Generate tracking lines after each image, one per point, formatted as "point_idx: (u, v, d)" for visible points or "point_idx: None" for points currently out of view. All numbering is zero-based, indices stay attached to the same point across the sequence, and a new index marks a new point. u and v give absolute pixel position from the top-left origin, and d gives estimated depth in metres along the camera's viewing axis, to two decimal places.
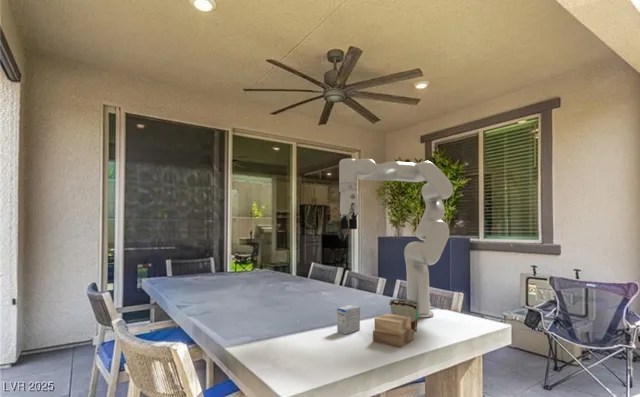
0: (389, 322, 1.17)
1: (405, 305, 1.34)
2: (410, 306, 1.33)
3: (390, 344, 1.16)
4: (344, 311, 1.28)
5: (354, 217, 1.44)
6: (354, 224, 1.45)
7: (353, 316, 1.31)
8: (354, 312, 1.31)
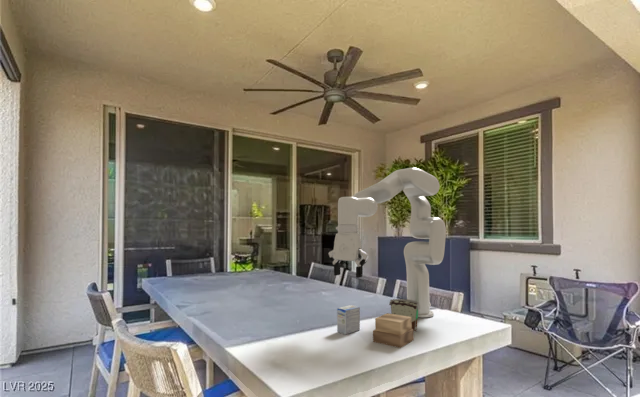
0: (390, 322, 1.17)
1: (405, 305, 1.34)
2: (410, 306, 1.33)
3: (390, 344, 1.16)
4: (344, 311, 1.28)
5: None
6: None
7: (353, 316, 1.31)
8: (354, 312, 1.31)
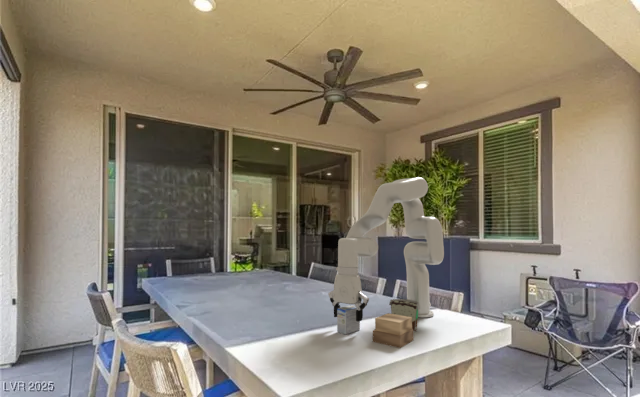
0: (389, 322, 1.17)
1: (405, 305, 1.34)
2: (410, 306, 1.33)
3: (390, 344, 1.16)
4: (344, 311, 1.28)
5: None
6: None
7: (353, 316, 1.31)
8: (354, 312, 1.31)
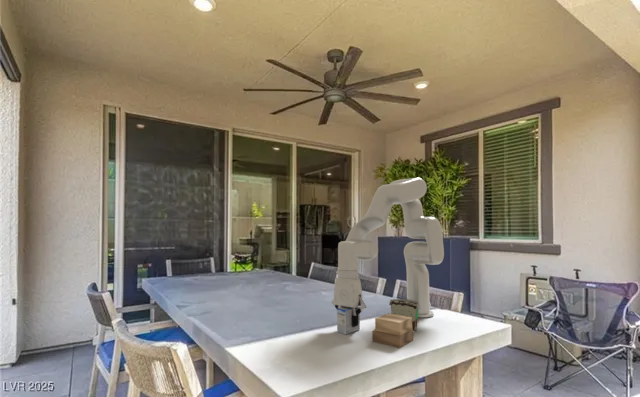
0: (389, 322, 1.17)
1: (405, 305, 1.34)
2: (410, 306, 1.33)
3: (389, 344, 1.16)
4: (344, 311, 1.28)
5: None
6: None
7: None
8: None
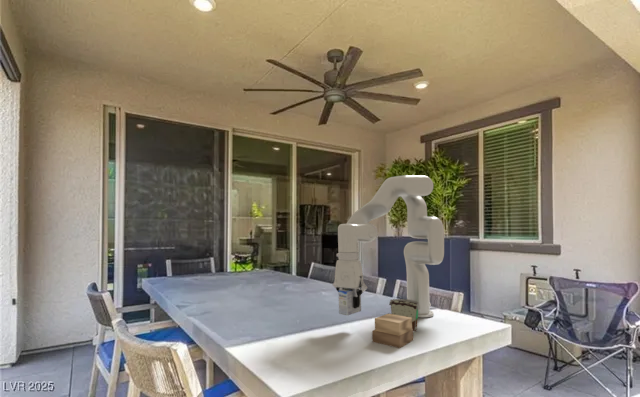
0: (389, 322, 1.17)
1: (405, 305, 1.34)
2: (410, 306, 1.33)
3: (389, 344, 1.16)
4: (345, 292, 1.29)
5: None
6: None
7: None
8: None
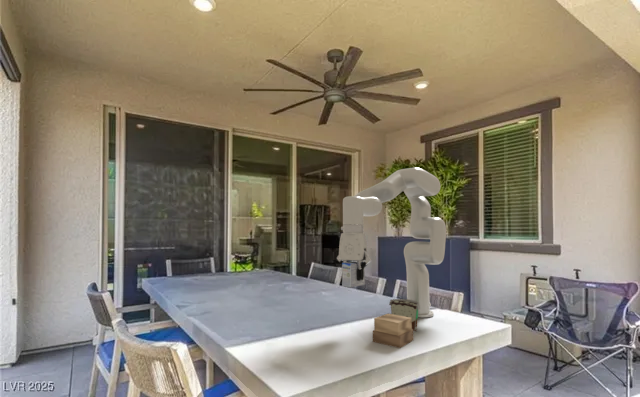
0: (388, 322, 1.17)
1: (405, 305, 1.34)
2: (410, 306, 1.33)
3: (390, 344, 1.16)
4: (349, 264, 1.28)
5: None
6: None
7: None
8: None
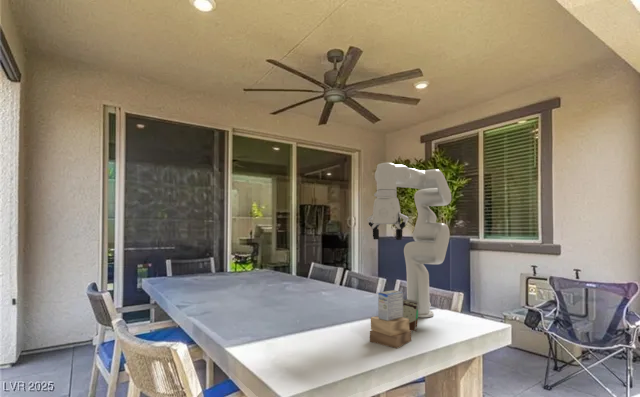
0: (382, 322, 1.17)
1: (405, 305, 1.34)
2: (410, 306, 1.33)
3: (386, 344, 1.16)
4: (386, 295, 1.18)
5: None
6: None
7: (396, 301, 1.20)
8: (396, 297, 1.20)
